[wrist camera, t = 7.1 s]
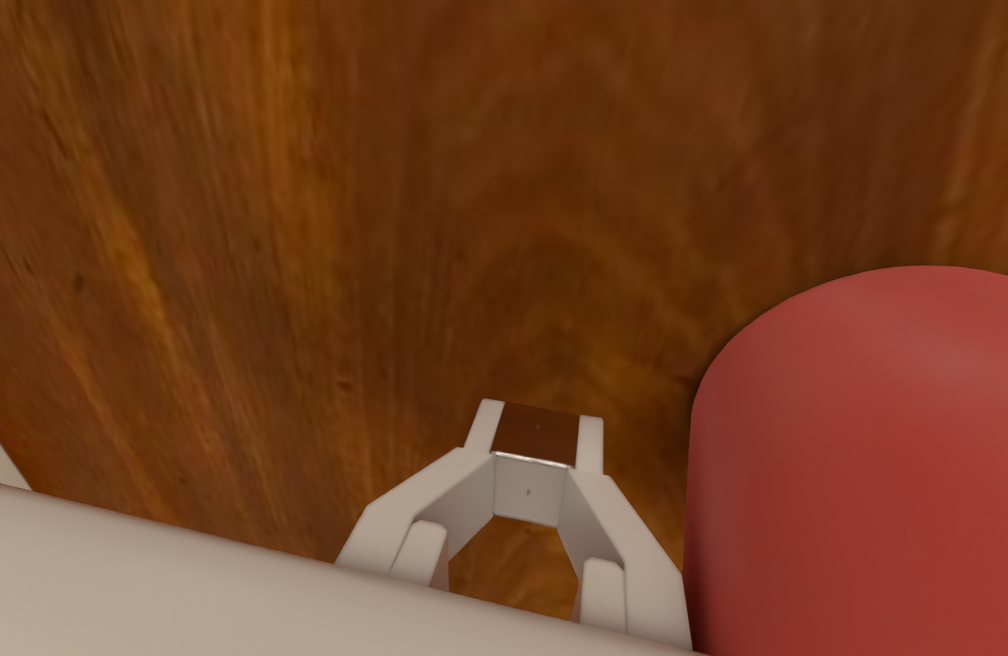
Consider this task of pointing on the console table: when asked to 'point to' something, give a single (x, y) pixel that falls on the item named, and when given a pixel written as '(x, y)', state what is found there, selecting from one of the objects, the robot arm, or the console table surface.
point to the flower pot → (855, 473)
